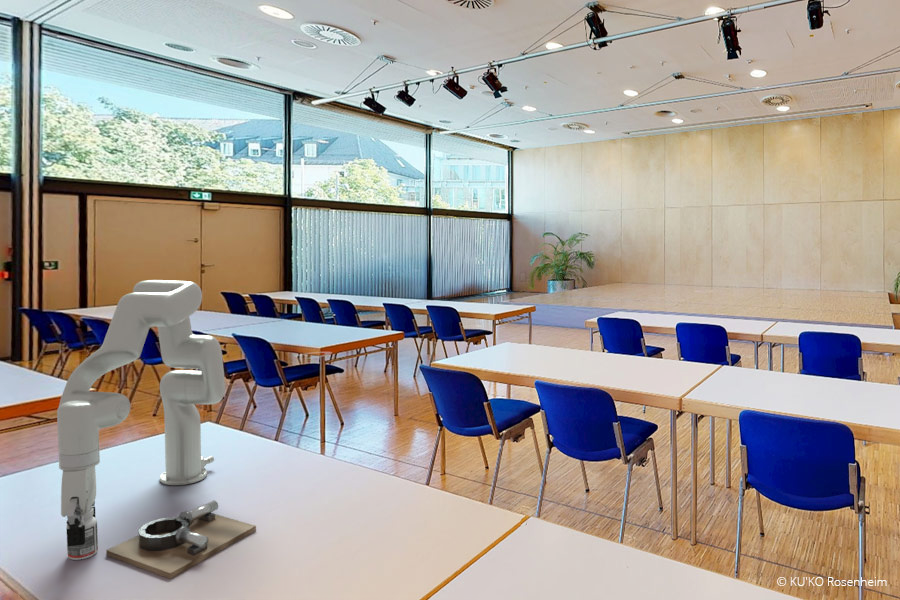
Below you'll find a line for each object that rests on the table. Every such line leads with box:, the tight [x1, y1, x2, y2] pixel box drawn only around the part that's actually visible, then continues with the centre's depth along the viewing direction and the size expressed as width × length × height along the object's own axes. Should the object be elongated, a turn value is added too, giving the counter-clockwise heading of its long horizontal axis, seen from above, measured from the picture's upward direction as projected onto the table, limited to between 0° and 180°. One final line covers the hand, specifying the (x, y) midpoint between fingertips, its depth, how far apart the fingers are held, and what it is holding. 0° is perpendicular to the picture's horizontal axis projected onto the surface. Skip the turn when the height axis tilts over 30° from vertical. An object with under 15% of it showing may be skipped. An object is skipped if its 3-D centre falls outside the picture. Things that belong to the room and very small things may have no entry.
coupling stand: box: [106, 500, 257, 580], centre depth 139 cm, size 24×20×6 cm
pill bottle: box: [66, 506, 99, 561], centre depth 133 cm, size 6×6×10 cm
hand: (82, 534), depth 133 cm, fingers open, 9 cm apart
